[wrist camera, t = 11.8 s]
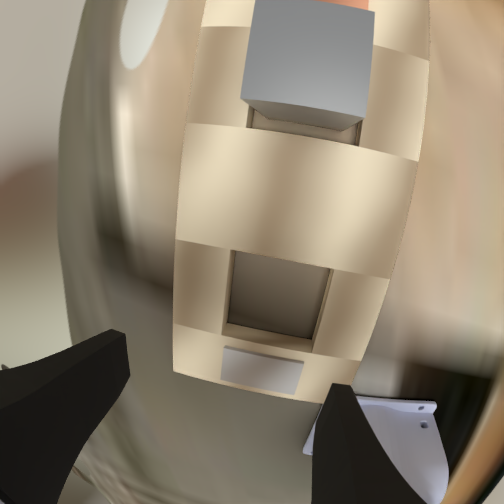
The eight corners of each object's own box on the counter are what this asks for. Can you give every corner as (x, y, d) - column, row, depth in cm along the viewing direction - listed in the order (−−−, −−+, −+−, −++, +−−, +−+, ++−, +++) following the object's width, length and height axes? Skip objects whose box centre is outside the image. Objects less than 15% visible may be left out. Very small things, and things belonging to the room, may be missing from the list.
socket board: (421, 9, 11) (430, -3, 10) (340, 391, 20) (341, 408, 19) (220, -20, 13) (212, -33, 11) (180, 358, 22) (171, 373, 20)
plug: (350, 63, 14) (375, 11, 7) (342, 131, 15) (365, 118, 9) (277, 52, 14) (256, -5, 8) (268, 119, 16) (239, 98, 9)
